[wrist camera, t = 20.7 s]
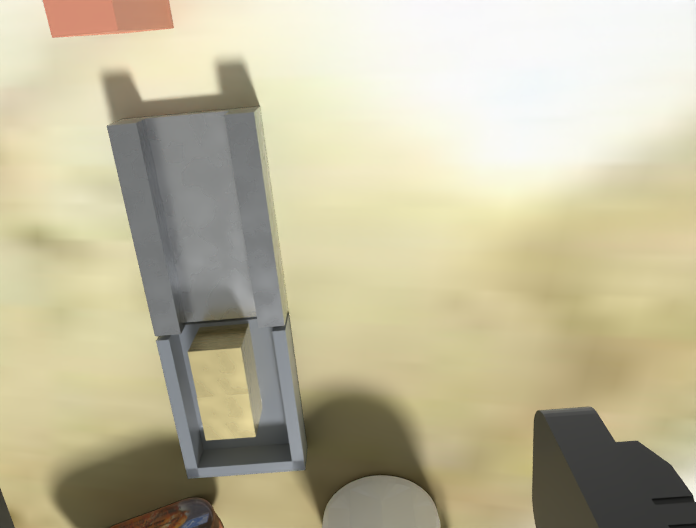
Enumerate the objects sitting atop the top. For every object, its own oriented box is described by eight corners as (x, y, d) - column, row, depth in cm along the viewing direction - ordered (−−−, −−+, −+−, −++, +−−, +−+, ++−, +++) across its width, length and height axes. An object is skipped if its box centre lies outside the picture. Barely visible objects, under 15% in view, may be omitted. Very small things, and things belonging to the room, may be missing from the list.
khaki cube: (255, 366, 52) (248, 393, 48) (262, 407, 53) (255, 436, 49) (207, 370, 52) (196, 397, 48) (215, 411, 53) (205, 440, 49)
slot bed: (259, 106, 44) (254, 112, 42) (288, 308, 50) (284, 325, 47) (121, 119, 45) (106, 125, 42) (165, 318, 51) (155, 336, 48)
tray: (288, 313, 50) (285, 330, 48) (307, 447, 55) (305, 470, 52) (166, 323, 51) (156, 340, 48) (195, 455, 56) (187, 478, 53)
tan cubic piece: (248, 323, 50) (240, 347, 46) (256, 366, 52) (248, 393, 48) (199, 327, 50) (187, 352, 46) (208, 370, 52) (197, 397, 48)
